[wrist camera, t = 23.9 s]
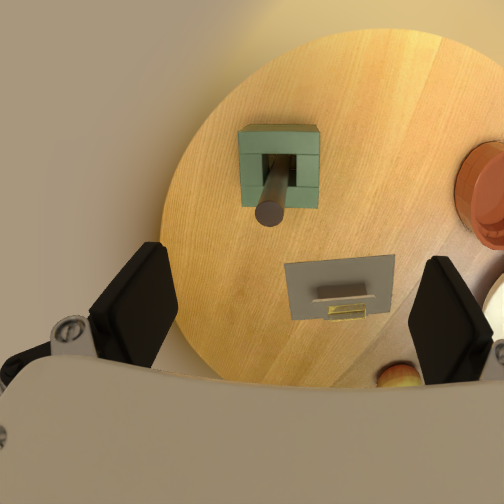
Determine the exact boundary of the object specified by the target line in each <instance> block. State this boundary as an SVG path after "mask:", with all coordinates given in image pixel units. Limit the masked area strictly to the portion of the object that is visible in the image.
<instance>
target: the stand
mask: <svg viewBox="0 0 504 504" xmlns="http://www.w3.org/2000/svg"><path fill="white" fill-rule="evenodd" d="M238 144H239V165H240V183H241V201H242V207H257V204H258V202H259V199H260V196H261V193H262V191H263V188H264V185H265V183H266V180H267V177H268V175H269V172H270V169H269V154H296V170H290V172H289V179H288V187H287V194H286V201H285V207H286V208H315V209H318V198H319V169H320V131H319V130H318V128H317V126H316V125H303V124H250V125H248V126H246V127H245V128H243V129H242V130H240V131H239V132H238Z"/></svg>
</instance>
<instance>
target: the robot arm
mask: <svg viewBox="0 0 504 504" xmlns="http://www.w3.org/2000/svg"><path fill="white" fill-rule="evenodd" d="M177 312H178V302H177V297H176V293H175V288H174V283H173V278H172V273H171V268H170V263H169V258H168V253H167V249H166V247H165V246H163V245H162V244H161V243H160V242H145V243H144V244H143V245H142V246H141V247H140V248H139V249H138V251H137V252H136V253H135V254H134V255H133V256H132V258H131V259H130V260H129V261H128V262H127V263H126V265H125V266H124V267H123V268H122V269H121V271H120V272H119V273H118V274H117V275H116V277H115V278H114V279H113V280H112V281H111V283H110V284H109V285H108V287H107V288H106V289H105V290H104V291H103V293H102V294H101V295H100V297H99V298H98V299H97V300H96V302H95V303H94V304H93V305H92V307H91V308H90V309H89V313H90V315H89V316H88V318H85V317H84V316H80V315H73V316H68V317H66V318H64V319H62V320H60V321H59V322H58V323H57V324H56V325H55V326H54V327H53V329H52V331H51V335H50V339H51V340H50V341H49V342H46V343H44V344H41V345H39V346H36V347H34V348H31V349H29V350H26V351H24V352H21V353H19V354H16V355H14V356H12V357H10V358H9V359H7V360H6V362H5V363H4V364H3V366H2V368H1V370H0V504H504V339H499V340H496V341H495V342H494V341H493V339H492V336H493V334H494V332H493V330H492V328H491V326H490V324H489V322H488V321H487V319H486V317H485V315H484V313H483V312H482V310H481V308H480V306H479V305H478V303H477V301H476V300H475V298H474V296H473V295H472V293H471V291H470V290H469V288H468V286H467V285H466V283H465V282H464V280H463V279H462V277H461V275H460V274H459V272H458V271H457V269H456V268H455V266H454V265H453V263H452V262H451V260H450V259H449V258H448V257H447V256H432V258H431V259H429V260H427V262H426V265H425V269H424V272H423V275H422V279H421V282H420V285H419V288H418V292H417V295H416V298H415V301H414V304H413V307H412V309H411V312H410V315H409V319H408V326H409V330H410V333H411V336H412V339H413V342H414V346H415V349H416V352H417V356H418V359H419V363H420V367H421V370H422V374H423V378H424V381H425V385H421V386H405V387H382V388H323V387H299V386H282V385H269V384H257V383H247V382H237V381H229V380H219V379H213V378H205V377H198V376H192V375H185V374H179V373H173V372H168V371H162V370H156V369H151V366H152V364H153V362H154V360H155V358H156V356H157V354H158V352H159V349H160V347H161V345H162V343H163V341H164V339H165V337H166V335H167V333H168V331H169V329H170V327H171V325H172V322H173V321H174V319H175V317H176V315H177Z"/></svg>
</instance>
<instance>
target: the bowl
mask: <svg viewBox="0 0 504 504" xmlns="http://www.w3.org/2000/svg"><path fill="white" fill-rule="evenodd" d="M482 312H483V313H484V315H485V317H486V319H487V321H488V322H489V324H490V326H491V328H492V330H493V332H494V334H493V336H492V339H493V341H494V342H495V341H496V340H499V339H504V273H503V274H502V275H501V276H500V277H499V278H498V279H497V281H496V282H495V283H494V285H493V286H492V287H491V289H490V291H489V293H488V294H487V296H486V299H485V301H484V304H483V309H482Z"/></svg>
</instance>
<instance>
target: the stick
mask: <svg viewBox="0 0 504 504" xmlns="http://www.w3.org/2000/svg"><path fill="white" fill-rule="evenodd" d="M290 164H291V156H290V155H289V154H276V156H275V159H274V161H273V164H272V167H271V169H270V172H269V175H268V177H267V180H266V183H265V185H264V188H263V191H262V193H261V196H260V199H259V202H258V204H257V207H256V210H255V216H256V219H257V221H258V222H259V223H260V224H262V225H264V226H267V227H273V226H276V225H278V224H279V223H280V222H281V221H282V219H283V216H284V208H285V201H286V194H287V187H288V179H289V172H290Z"/></svg>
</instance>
